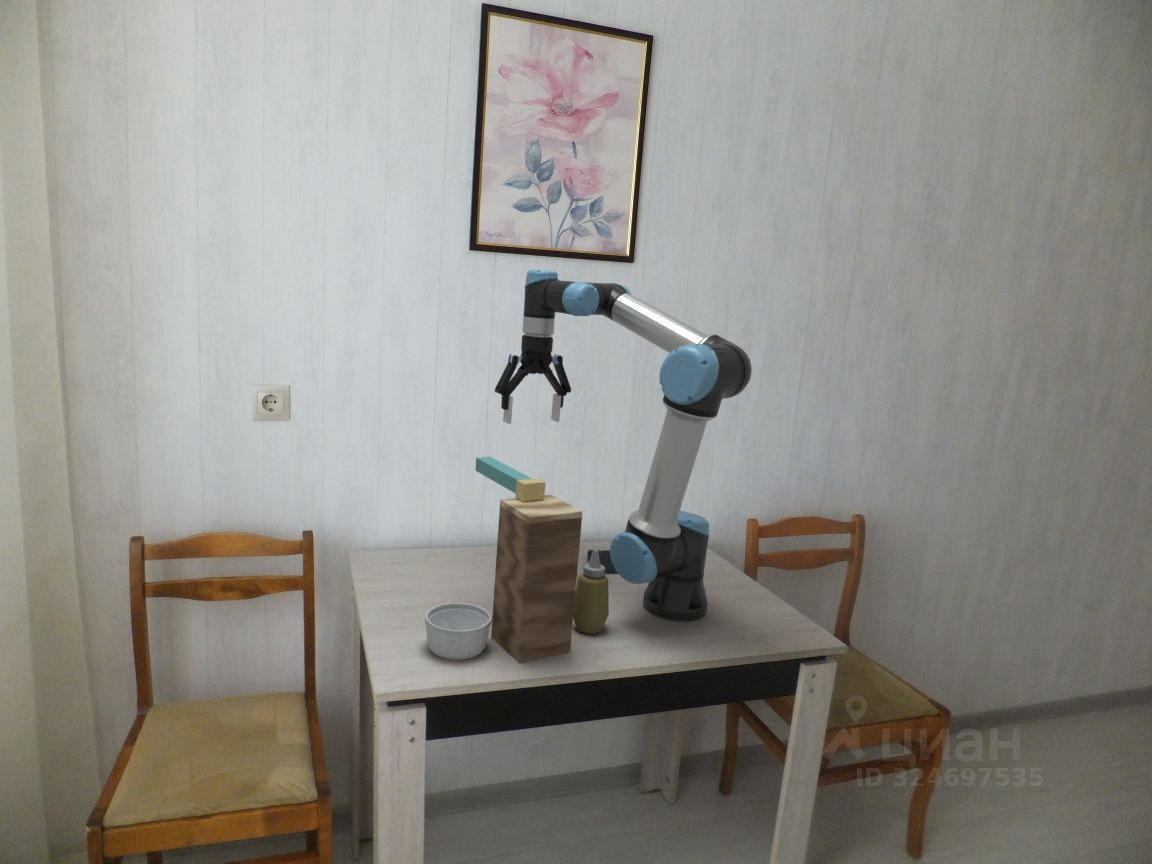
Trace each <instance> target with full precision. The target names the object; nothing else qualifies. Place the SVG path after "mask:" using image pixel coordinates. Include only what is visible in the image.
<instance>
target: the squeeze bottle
mask: <svg viewBox="0 0 1152 864" xmlns="http://www.w3.org/2000/svg"><path fill="white" fill-rule="evenodd" d="M592 550H593V553H592V556H591V559H590V561H589V562H588V563H585V564H584V565H583V568H582V570H583V571H582V573H581V574H579V575H578V576H577V577H578V578H577V580H576V592H575V603H574V614H573V623H574V627H575V630H577V631H578V632H581V633H583V634H587V635H589V634H590V635H591V634H593V635H594V634H598V633H600V632H602V631H603V628H604V626H605V624H606V621H607V619H608V617H609V613H610V612H609V611H610V609H609V608H610V607H609V606H610V605H609V579H608V577H607V576H606V574H605V567H604V566H603V565H601V564H600V558H599V551H600V550H599V549H592ZM598 550H599V551H598Z"/></svg>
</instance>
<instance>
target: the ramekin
mask: <svg viewBox="0 0 1152 864" xmlns="http://www.w3.org/2000/svg"><path fill="white" fill-rule="evenodd" d="M424 617H425V618H424V623H425V626H426V640H427V641H426V642H427V646H428V648H429V650H431V652H432V653H433V654H434V655H436V656H438V657H439V658H443V659H446V660H453V661H454V660H457V661H458V660H459V661H460V660H461V661H462V660H467V659H468V658H469V659H472V658H475V657H477V656H479V655H480V654H481V653H482V652H483V651H484V649H485V648H486V645H487V643H488V642H487V641H488V638H489V634H490V633H489V632H490V627H492V615H491V613H490V612H489V611H488V610H487V609H485V608H484V607H482V606H479V605H476V604H472V603H466V602H448V603H442V604H438V605H435V606H433V607H432V608H430V609H429V610H427V612H426V614H425V616H424ZM469 659H468V660H469Z"/></svg>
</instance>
